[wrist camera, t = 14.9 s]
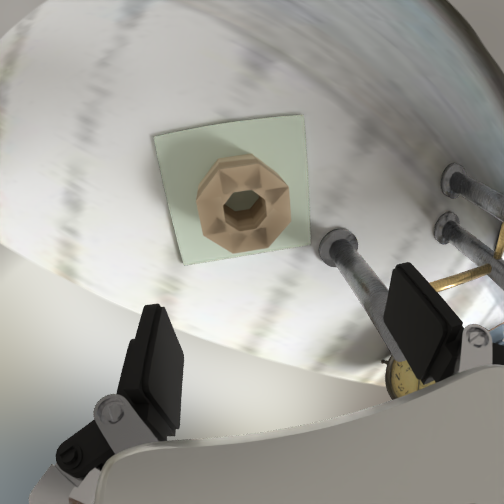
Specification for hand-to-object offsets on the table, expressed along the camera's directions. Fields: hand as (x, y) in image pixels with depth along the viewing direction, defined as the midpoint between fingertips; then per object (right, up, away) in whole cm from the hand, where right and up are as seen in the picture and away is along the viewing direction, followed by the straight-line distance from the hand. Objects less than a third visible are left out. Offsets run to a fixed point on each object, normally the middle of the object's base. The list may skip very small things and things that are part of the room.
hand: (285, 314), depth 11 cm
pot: (-2, +7, +13) cm, 15 cm away
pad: (-2, +7, +13) cm, 15 cm away
